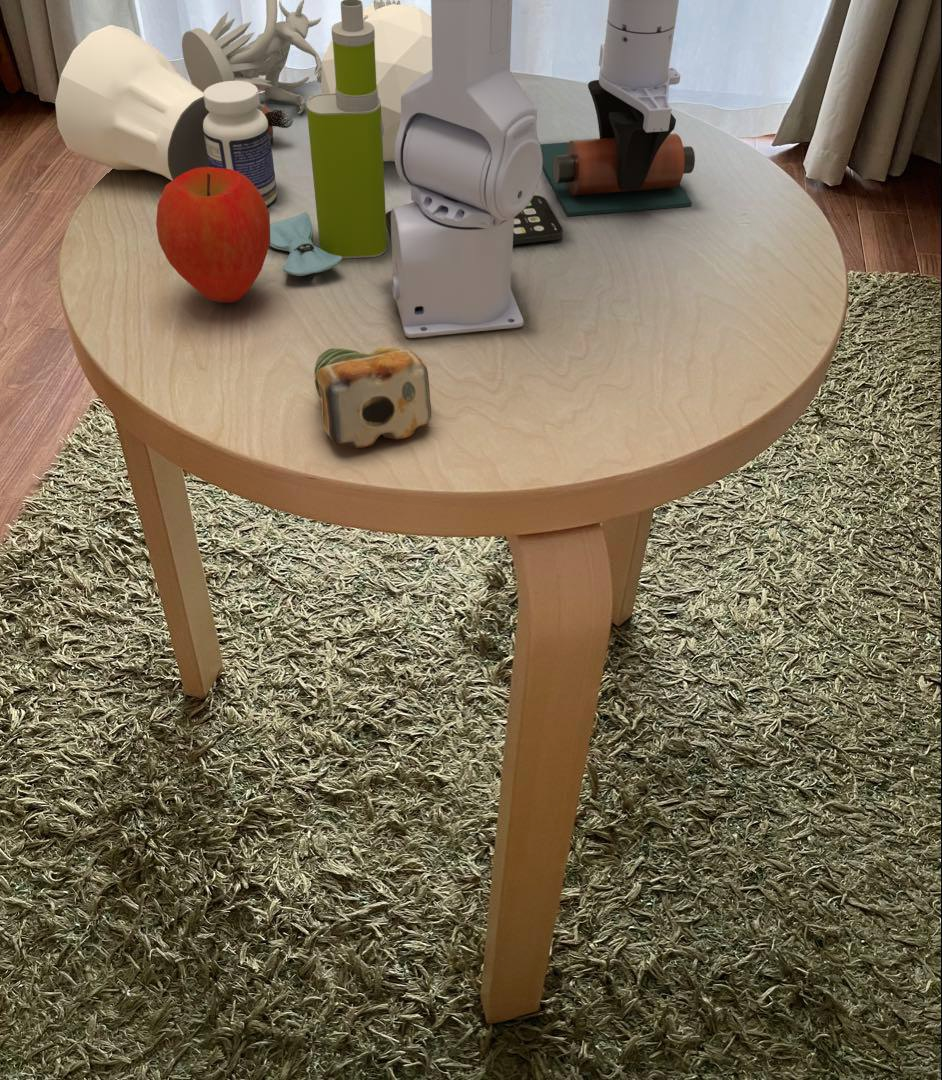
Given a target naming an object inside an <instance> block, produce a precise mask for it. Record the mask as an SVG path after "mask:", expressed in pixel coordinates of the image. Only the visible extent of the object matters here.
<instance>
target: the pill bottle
mask: <svg viewBox="0 0 942 1080" xmlns="http://www.w3.org/2000/svg"><path fill="white" fill-rule="evenodd" d="M204 101H205V107H206V109H207V110H208V111H209V114H208V115H207V116H206V117H205V119H204V122H203V131H204V137H205V142H206V148H207V154H208V160H209V165H210V167H214V168H223V169H232V170H234V171H237V172H239V173H241V174H242V175H244V176H246V177H247V178H248V179H249V180H250V181H251V182H252V183H253V184H254V186H255V187H256V188H257V189H258V191H259V192H260V194H261V195H262V197H263V200H264V202H265V204H266V206H267V207H268V205H270V204H271V203H273V202H274V201H275V199H276V197H277V194H278V190H277V189H278V188H277V180H276V172H275V166H274V158H273V157H274V156H273V151H272V143H271V136H270V134H269V126H268V121H267V118H266V116H265V115H264V114H263V113H262V111H260V110H258V108H257V107H258V106H259V104H260V103H261V101H260V94H259V89H257V87H256V86H255V85H253V84H251V83H248V82H244V81H226V82H220V83H217V84H214V85H211V86H209V87H208V88H207V89H205V91H204Z"/></svg>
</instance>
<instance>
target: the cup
mask: <svg viewBox="0 0 942 1080" xmlns="http://www.w3.org/2000/svg"><path fill="white" fill-rule="evenodd" d="M57 87H58V88H57V92H56V97H55V102H54V103H55V116H56V125H57V130H58V131H59V134H60V135H61V138H62V140H63V142H64V145H65V146H66V149H68V150H70V151H71V152H73V153H74V154H75V155H76V156H78V157H80V159H84V160H88V161H90V162H93V163H96V164H98V165H102V166H105V167H108V168H111V169H114V170H118V171H142V170H143V171H147V172H150V173H153V174H157V175H160V176H163V177H165V178H167V179H168V180H170V182H171V181H173V180H174V179H175V178H177V177H178V176H180V175H181V174H183V173H185V172H187V171H190V170H192V169H195V168H202V167H210V165H209V160H208V154H207V148H206V142H205V137H204V131H203V122H204V119H205V117H206V116H207V115H208V114H209V111H208V110H207V109H206V107H205V101H204V93H203V92H202V91H200V90H199V89H198V88H197V87H195V86H194V85H193V84H192V83H191V81H190V80H187V79H186V78H185V77H184V76H182V75H181V74H180V73H179V72H178V70H177V68H176V67H175V66H174V64H173V63H172V62H171V61H170V60H169V59H168V58H167V57H166V56H165V55H164V54H163V53H162V51H160V50H158V49H157V48H155V47H154V46H153V45H151V44H150V43H149V42H147V41H146V40H145V39H143V38H142V37H141V36H139V35H137V34H136V33H134V31H132V30H131V29H129V28H126V27H122V26H117V25H113V24H110V25H107V26H104V27H102V28H100V29H96V30H94V31H91V32H90V33H89V34H88V35H87V36H86V37H85V38H83V40H82V41H81V42H80V43H79V44H77V46H76V47H75V48H74V49H73V50H72V52H71V53H70V56H69V58H68V60H67V62H66V64H65V65H64V67H63V70H62V71H61V74H60V77H59V81H58V86H57Z"/></svg>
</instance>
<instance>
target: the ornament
mask: <svg viewBox="0 0 942 1080" xmlns="http://www.w3.org/2000/svg"><path fill="white" fill-rule="evenodd" d="M313 370H314V372H313V374H314V385H315V390H316V393H317V395H318V396H319V398H320V409H321V421H322V422H321V424H322V427H323V429H324V430H325V432H326V434H327V436H328V437H329V439H330V440H331V442H333V443H335V444H337V445H346V446H348V447H349V448H352V449H361V448H367V447H369V446H372V445H374V443H375V442H376V441H377V439H378V438H379V437H380V436H383V437H384V438H387V439H392V440H403V439H406V438H409V437H410V436H412V435H413V434H414V433H415V431H416V429H417V428H419V427H422V426H426V425H428V424H429V423H430V421H431V419H432V404H431V391H430V390H431V389H430V380H429V379H430V377H429V372H428V368H427V365H426V364H424V362H423V360H422V359H421V358H420V357H419V356H418V355H417V354H416V353H414V351H412V350H410V349H400V348H397V347H394V346H379V347H377V348H375V349H374V350H372V351H371V352H370V353H365V352H359V351H358V350H355V349H349V348H348V349H347V348H343V347H341V348H339V347H331V348H328V349H326V350H323V352H322V353H320V354H319V356H318V357H317V359H316V361H315V366H314V369H313Z"/></svg>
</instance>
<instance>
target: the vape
mask: <svg viewBox="0 0 942 1080" xmlns="http://www.w3.org/2000/svg"><path fill="white" fill-rule="evenodd" d="M363 9H364V7H363V2H362V0H341V1H340V14H341V15H340V16H341V21H339V22H336V23H334V24H333V25H332V26H331V40H332V39H333V51H334V65H335V78H336V90H335V92H336V93H329V94H321V93H317V94H314V95H311V96H310V97H308V99H306V100H307V101H306V102H305V104H306V113H307V115H306V116H307V125H308V126H307V127H308V135H309V136H308V137H309V146H310V155H311V167H312V168H311V169H312V178H313V179H312V180H313V189H314V190H313V191H314V199H315V210H316V211H315V212H316V220H317V221H316V222H317V233H318V243H319V248H320V249H322V250H323V251H325V252H327V253H329V254H333V255H338V256H342V259H357V258H358V259H359V258H376V257H380V256H382V255H383V254H385V252H386V251H387V248H388V239H387V238H388V237H387V224H386V213H387V212H386V192H385V191H386V190H385V169H384V167H385V166H384V161H383V141H382V137H383V134H384V127H383V122H382V117H381V101H380V99H379V97H378V89H377V85H376V63H375V41H374V39H375V30H374V26H373V25H372V24H370V23H368V22H365V21H363Z"/></svg>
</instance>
